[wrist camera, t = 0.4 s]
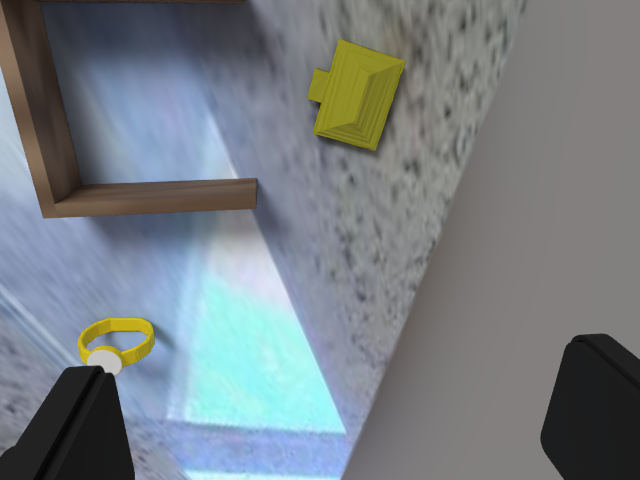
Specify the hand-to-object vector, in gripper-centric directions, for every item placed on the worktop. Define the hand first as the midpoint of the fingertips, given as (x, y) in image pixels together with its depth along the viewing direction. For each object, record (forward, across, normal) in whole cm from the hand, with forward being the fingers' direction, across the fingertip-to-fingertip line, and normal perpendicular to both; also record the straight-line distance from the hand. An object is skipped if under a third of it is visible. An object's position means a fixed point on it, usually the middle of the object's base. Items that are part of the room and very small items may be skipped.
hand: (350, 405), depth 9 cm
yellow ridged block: (+30, -5, -4) cm, 31 cm away
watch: (+29, +15, +16) cm, 37 cm away
